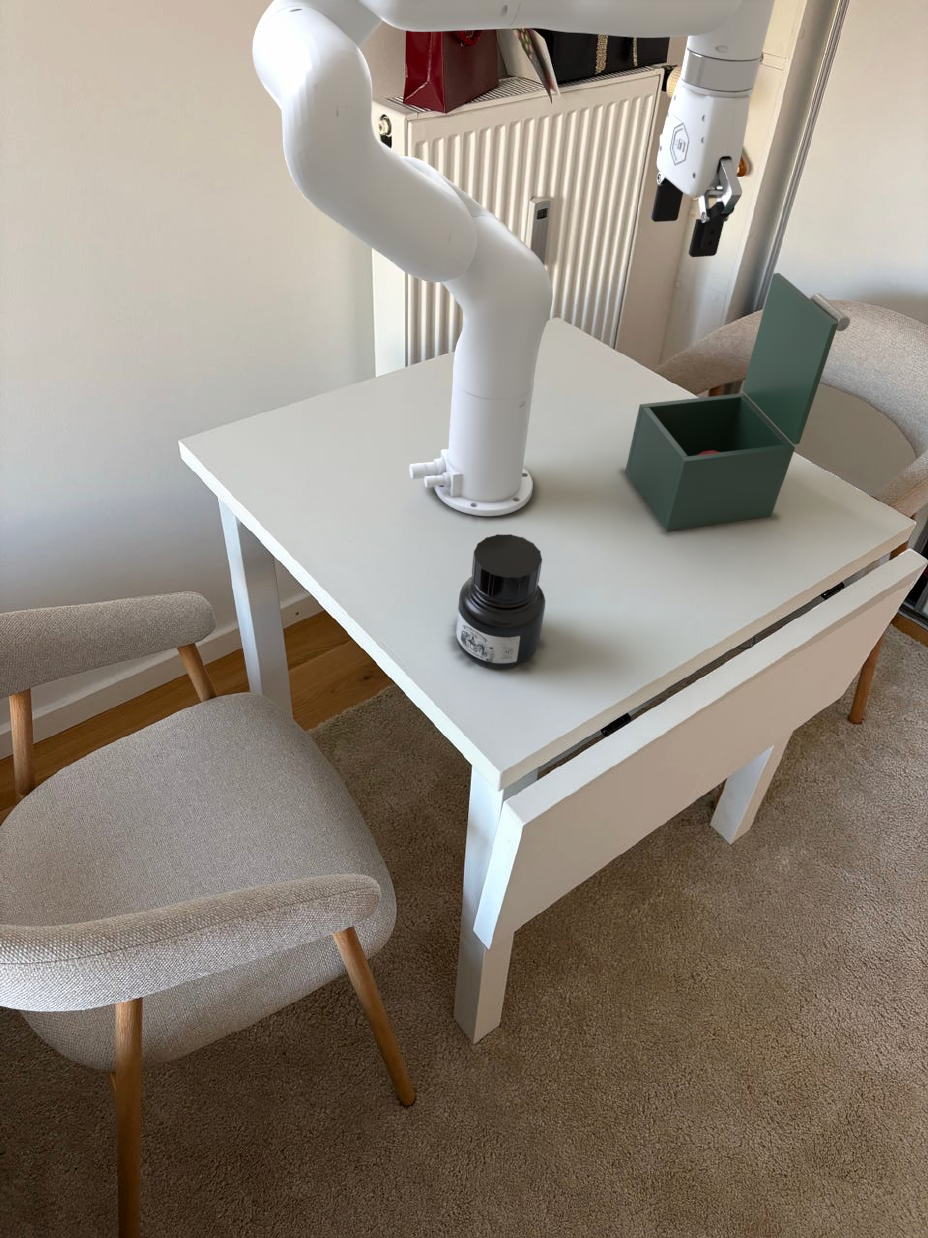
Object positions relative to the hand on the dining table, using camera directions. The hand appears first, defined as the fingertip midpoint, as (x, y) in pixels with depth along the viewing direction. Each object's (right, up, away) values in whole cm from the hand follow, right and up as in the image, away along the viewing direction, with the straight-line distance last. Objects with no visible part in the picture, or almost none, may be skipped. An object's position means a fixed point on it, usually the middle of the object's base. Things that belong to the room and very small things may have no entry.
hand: (682, 237), depth 112 cm
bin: (+5, -27, +16) cm, 32 cm away
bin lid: (+13, -13, +5) cm, 19 cm away
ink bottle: (-21, -46, -6) cm, 51 cm away
